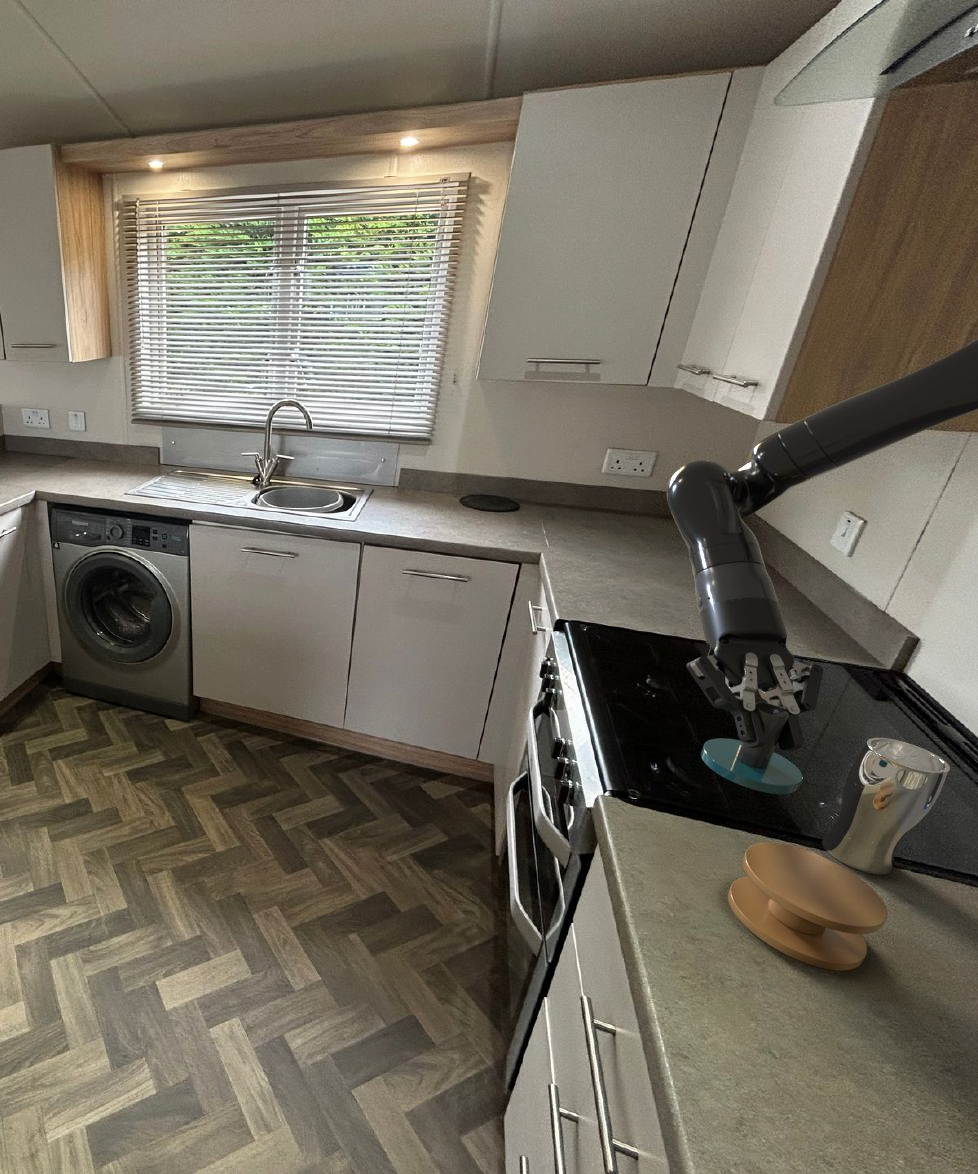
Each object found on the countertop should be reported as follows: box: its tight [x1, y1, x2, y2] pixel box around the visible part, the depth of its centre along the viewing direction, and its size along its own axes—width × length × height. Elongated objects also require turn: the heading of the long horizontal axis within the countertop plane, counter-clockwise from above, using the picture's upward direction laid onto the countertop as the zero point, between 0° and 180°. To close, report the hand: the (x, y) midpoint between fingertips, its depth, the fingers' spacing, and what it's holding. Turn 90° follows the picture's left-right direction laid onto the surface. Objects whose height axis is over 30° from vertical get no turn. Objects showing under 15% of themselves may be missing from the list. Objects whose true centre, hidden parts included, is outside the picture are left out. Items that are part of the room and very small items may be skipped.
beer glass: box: [821, 737, 951, 876], centre depth 74 cm, size 7×7×15 cm
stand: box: [727, 842, 889, 972], centre depth 67 cm, size 11×11×6 cm
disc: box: [700, 702, 803, 795], centre depth 73 cm, size 9×9×8 cm
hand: (773, 747), depth 71 cm, fingers closed on disc, 3 cm apart
